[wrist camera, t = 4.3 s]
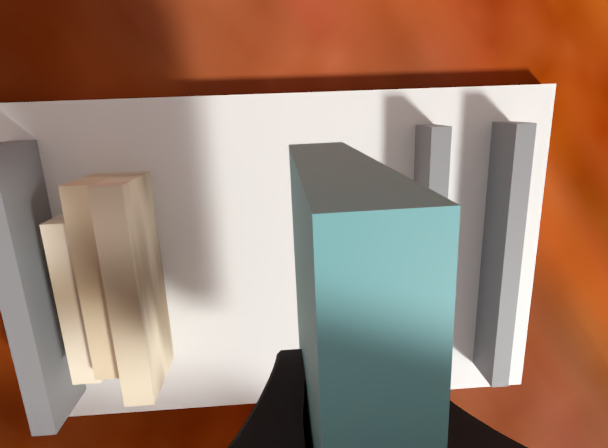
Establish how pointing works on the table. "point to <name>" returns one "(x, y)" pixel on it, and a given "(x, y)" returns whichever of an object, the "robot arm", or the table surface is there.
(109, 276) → the offcut stack
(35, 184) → the rack
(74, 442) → the table surface
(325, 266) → the teal rectangular block
